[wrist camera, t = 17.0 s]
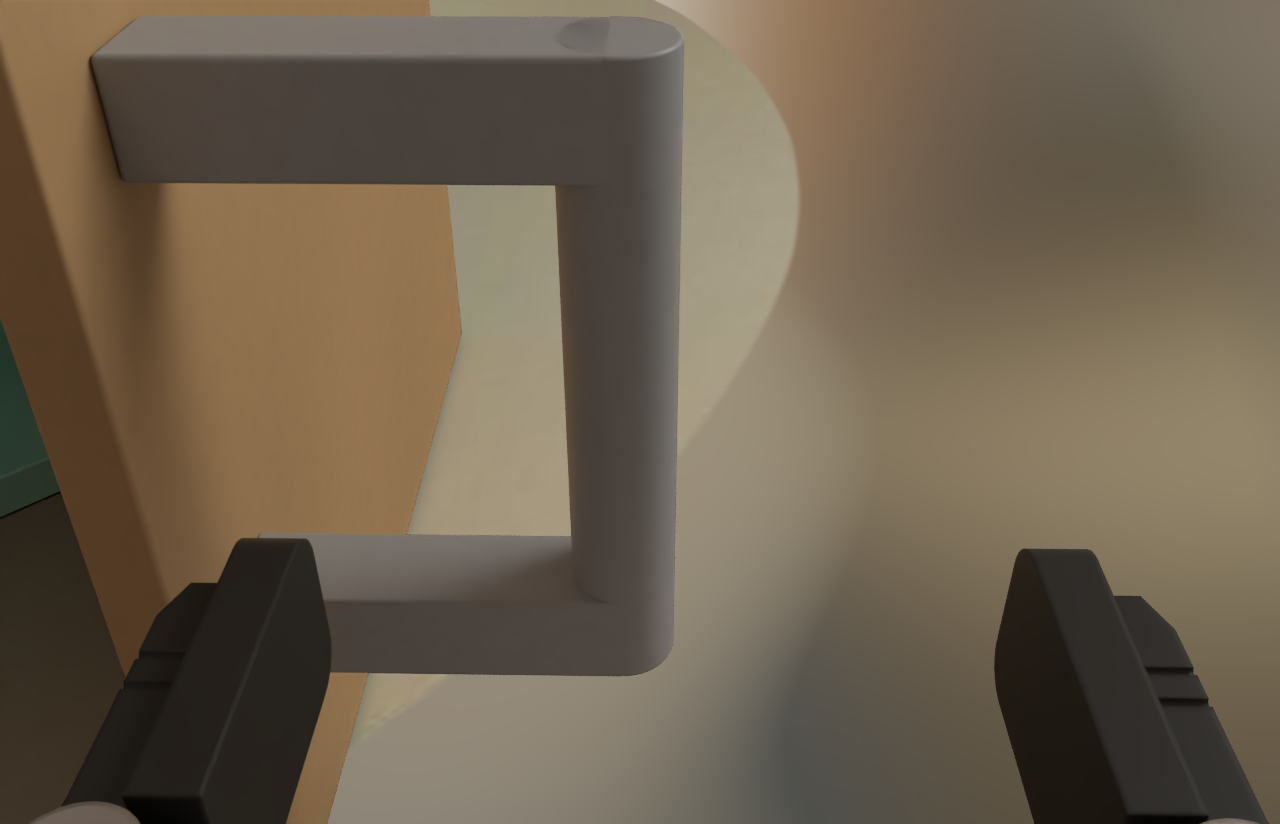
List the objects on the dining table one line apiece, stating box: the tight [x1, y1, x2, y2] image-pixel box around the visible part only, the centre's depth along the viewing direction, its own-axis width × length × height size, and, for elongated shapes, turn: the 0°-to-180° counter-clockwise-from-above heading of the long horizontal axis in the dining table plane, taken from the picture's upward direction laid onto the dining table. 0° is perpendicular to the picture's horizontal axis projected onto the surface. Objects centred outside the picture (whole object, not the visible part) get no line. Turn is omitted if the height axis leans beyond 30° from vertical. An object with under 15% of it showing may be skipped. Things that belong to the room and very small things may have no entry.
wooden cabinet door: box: [0, 0, 684, 824], centre depth 24 cm, size 8×22×22 cm, turn 179°
